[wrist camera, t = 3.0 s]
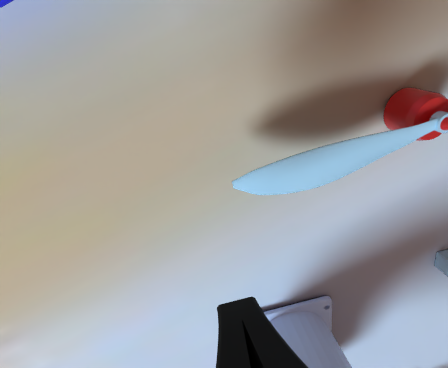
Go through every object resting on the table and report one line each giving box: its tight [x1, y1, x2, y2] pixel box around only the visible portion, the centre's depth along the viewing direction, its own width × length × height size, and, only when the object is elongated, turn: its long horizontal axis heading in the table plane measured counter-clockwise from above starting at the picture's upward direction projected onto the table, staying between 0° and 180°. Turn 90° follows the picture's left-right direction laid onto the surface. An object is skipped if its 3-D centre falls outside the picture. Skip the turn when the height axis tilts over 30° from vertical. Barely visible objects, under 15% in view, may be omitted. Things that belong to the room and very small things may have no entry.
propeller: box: [232, 87, 448, 195], centre depth 19 cm, size 4×25×4 cm, turn 103°
